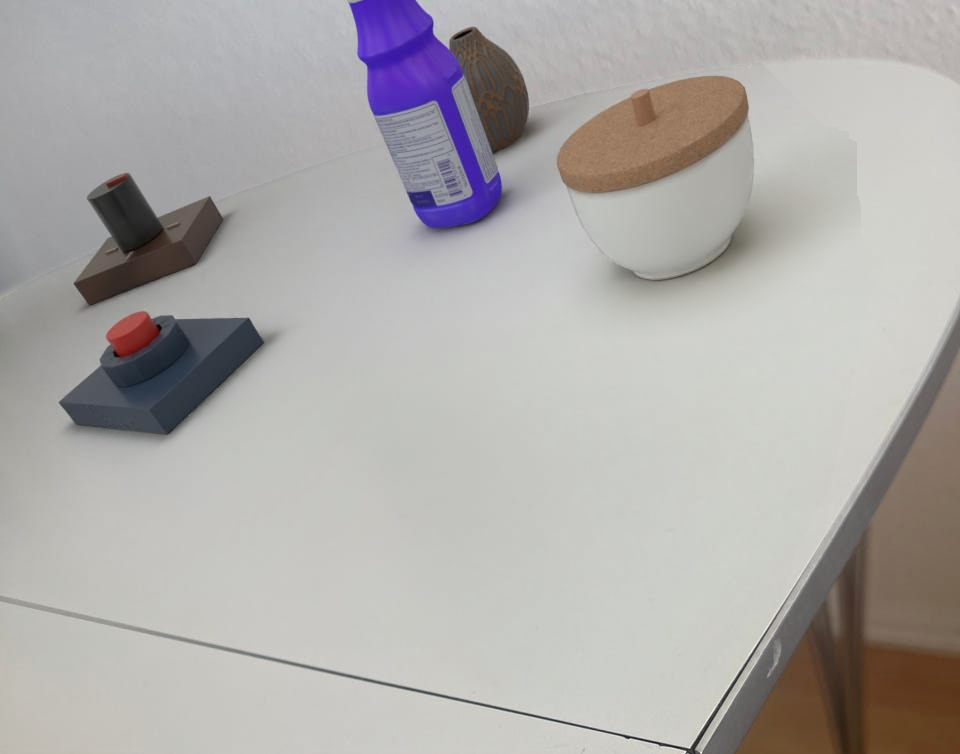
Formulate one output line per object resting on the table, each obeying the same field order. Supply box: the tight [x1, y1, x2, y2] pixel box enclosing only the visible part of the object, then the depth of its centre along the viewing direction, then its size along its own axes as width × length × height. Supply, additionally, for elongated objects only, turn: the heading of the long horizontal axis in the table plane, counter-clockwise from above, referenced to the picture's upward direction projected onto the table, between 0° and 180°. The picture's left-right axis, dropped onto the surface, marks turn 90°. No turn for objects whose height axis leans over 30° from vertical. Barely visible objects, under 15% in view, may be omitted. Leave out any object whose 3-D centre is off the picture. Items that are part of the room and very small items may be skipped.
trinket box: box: [556, 75, 755, 281], centre depth 57 cm, size 11×11×9 cm
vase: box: [448, 26, 530, 152], centre depth 83 cm, size 7×7×9 cm
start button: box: [105, 310, 160, 357], centre depth 74 cm, size 4×4×2 cm
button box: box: [58, 314, 265, 435], centre depth 76 cm, size 13×11×4 cm
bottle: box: [347, 0, 503, 229], centre depth 72 cm, size 7×6×17 cm
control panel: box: [73, 195, 224, 306], centre depth 100 cm, size 13×10×3 cm
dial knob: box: [86, 172, 163, 252], centre depth 97 cm, size 5×5×6 cm
